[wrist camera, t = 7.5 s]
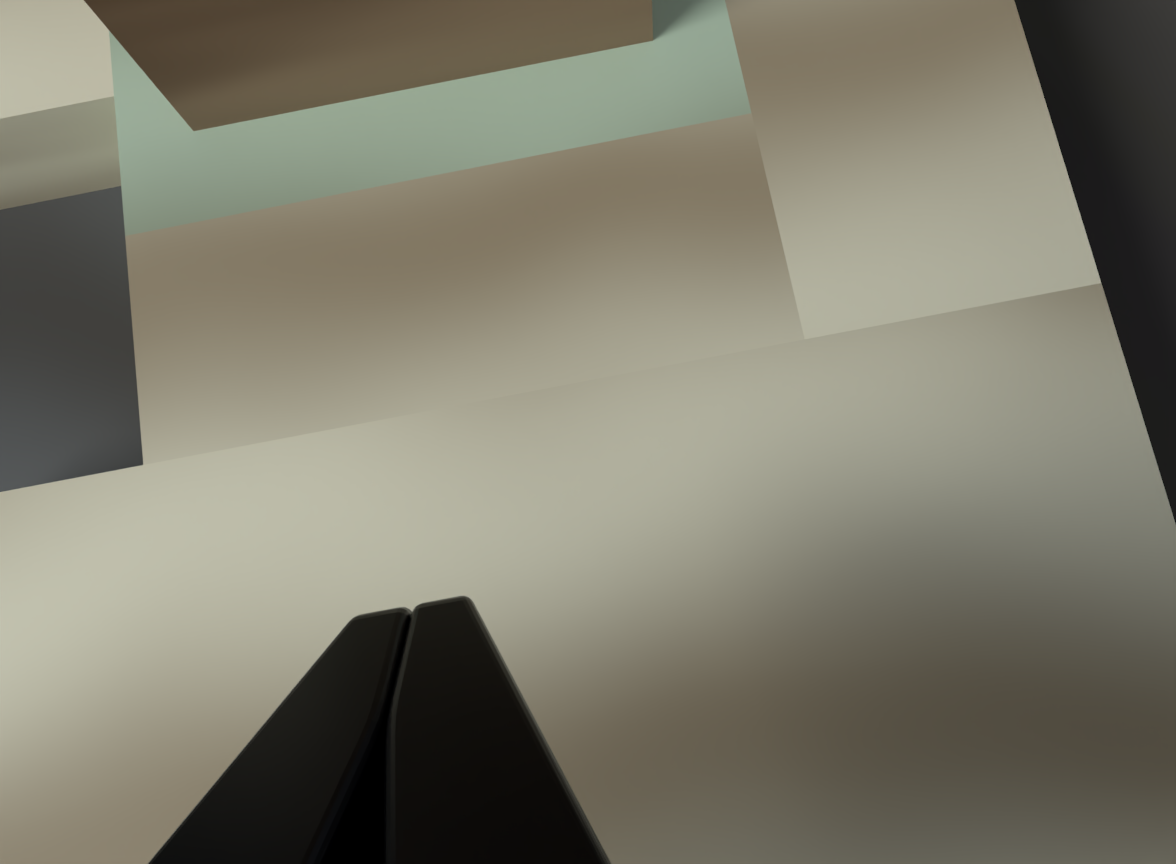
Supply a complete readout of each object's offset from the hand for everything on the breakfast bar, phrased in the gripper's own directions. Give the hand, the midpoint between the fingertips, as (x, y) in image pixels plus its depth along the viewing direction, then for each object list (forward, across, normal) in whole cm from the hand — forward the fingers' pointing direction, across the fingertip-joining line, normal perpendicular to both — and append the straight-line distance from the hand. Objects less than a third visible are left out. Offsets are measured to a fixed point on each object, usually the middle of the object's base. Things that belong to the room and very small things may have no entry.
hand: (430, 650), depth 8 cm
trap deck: (+8, 0, +2) cm, 8 cm away
